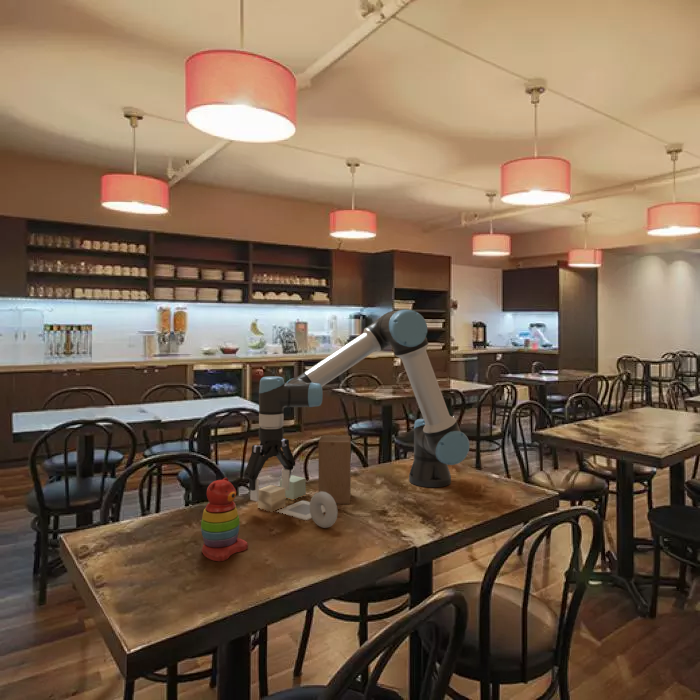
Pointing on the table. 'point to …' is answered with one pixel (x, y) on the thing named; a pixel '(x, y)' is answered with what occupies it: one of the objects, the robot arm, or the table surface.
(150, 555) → the table surface
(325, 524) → the donut
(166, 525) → the table surface
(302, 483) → the sage cube
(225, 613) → the table surface
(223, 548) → the stacking bear
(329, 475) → the wooden block
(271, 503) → the maple cube
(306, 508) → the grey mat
